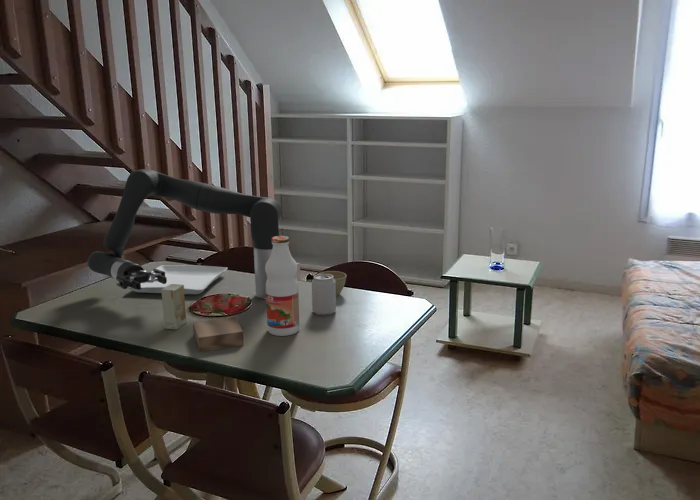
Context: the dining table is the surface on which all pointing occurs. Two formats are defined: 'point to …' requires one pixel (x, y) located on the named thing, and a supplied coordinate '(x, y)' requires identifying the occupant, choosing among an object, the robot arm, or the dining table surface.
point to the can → (323, 294)
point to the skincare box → (173, 306)
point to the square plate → (184, 278)
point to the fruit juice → (282, 290)
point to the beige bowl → (337, 280)
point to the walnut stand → (218, 334)
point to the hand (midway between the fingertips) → (152, 283)
